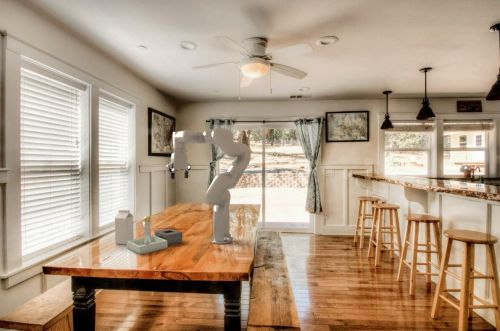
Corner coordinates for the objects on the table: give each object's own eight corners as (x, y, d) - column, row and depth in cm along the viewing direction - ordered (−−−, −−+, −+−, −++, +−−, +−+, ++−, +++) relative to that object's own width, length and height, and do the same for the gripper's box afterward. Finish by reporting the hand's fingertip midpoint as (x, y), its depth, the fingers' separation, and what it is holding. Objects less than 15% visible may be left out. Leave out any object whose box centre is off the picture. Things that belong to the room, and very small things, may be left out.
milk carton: (126, 244, 162) (125, 211, 162) (115, 244, 163) (114, 211, 163) (133, 241, 169) (133, 209, 168) (123, 240, 170) (122, 209, 170)
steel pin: (151, 246, 155) (151, 217, 155) (145, 247, 152) (145, 218, 152) (148, 244, 158) (148, 216, 157) (142, 246, 155) (142, 217, 155)
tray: (167, 247, 155) (167, 240, 155) (139, 254, 144) (139, 247, 144) (153, 242, 166) (153, 235, 166) (126, 248, 155) (126, 241, 155)
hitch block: (182, 242, 165) (182, 232, 165) (166, 246, 158) (166, 235, 158) (169, 238, 175) (169, 228, 175) (154, 241, 168) (154, 231, 168)
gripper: (187, 151, 187) (188, 177, 187) (163, 151, 175) (164, 179, 175) (194, 151, 182) (194, 178, 182) (170, 151, 169) (170, 179, 170)
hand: (179, 178), depth 179 cm, fingers open, 9 cm apart
